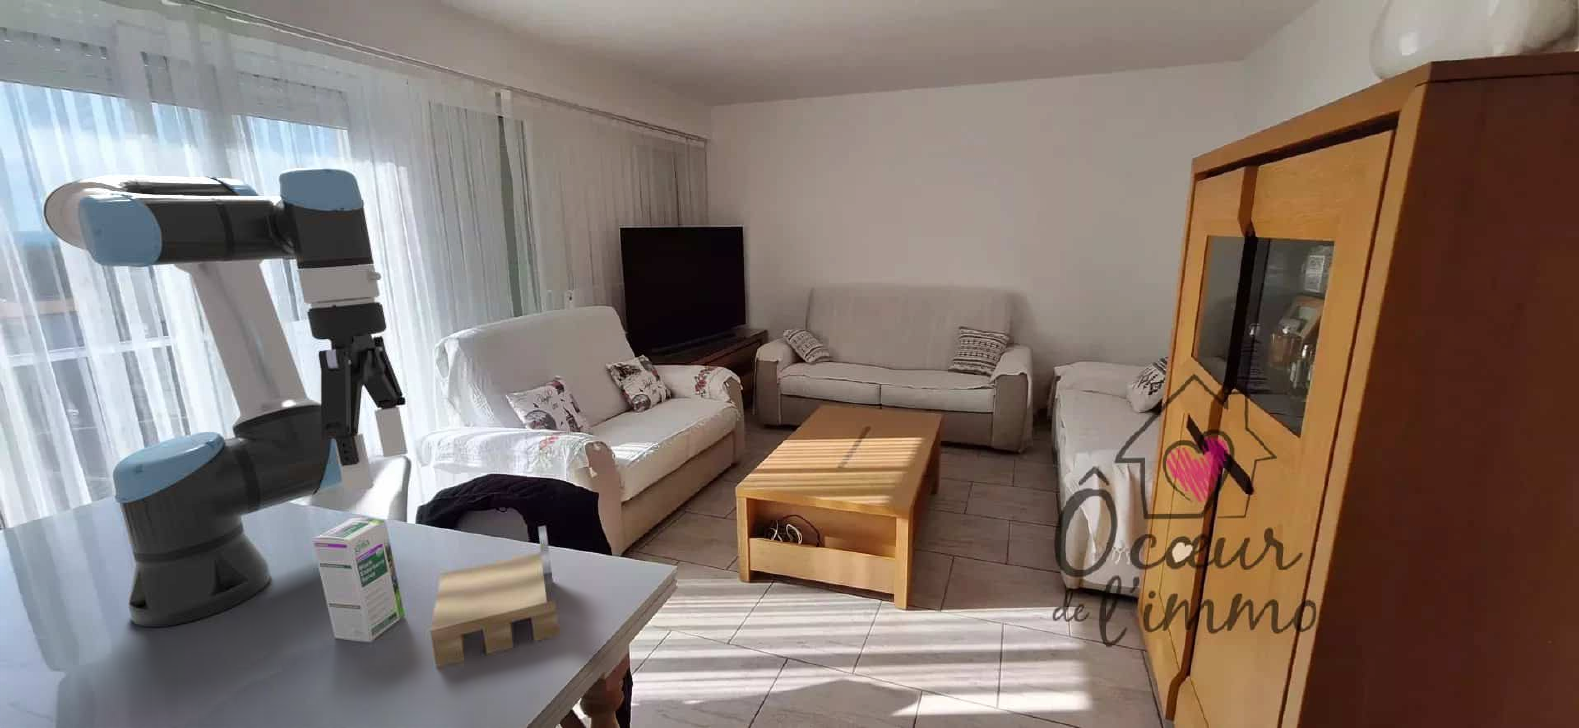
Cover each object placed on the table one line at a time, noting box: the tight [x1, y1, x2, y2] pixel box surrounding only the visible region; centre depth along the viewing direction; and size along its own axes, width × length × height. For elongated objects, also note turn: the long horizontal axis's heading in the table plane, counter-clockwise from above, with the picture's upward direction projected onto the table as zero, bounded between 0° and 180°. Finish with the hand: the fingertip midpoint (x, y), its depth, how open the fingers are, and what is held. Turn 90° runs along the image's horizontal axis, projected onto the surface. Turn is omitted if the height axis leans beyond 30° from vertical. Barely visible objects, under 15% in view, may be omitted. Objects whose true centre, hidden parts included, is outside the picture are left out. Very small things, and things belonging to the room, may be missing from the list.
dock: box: [429, 525, 560, 668], centre depth 84 cm, size 14×14×9 cm
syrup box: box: [312, 517, 405, 643], centre depth 83 cm, size 6×6×14 cm
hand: (379, 471), depth 80 cm, fingers open, 13 cm apart
